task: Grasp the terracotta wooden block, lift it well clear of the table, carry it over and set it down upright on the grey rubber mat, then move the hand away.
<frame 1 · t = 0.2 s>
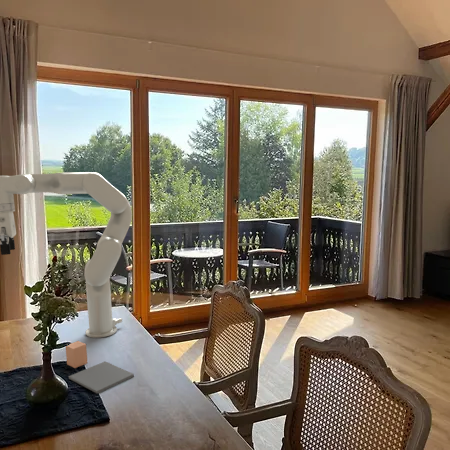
hand: (8, 252, 175), 37 cm above the table, tool pointing down, fingers open, 9 cm apart
mat: (101, 377, 148), on the table
block: (77, 363, 159), on the table
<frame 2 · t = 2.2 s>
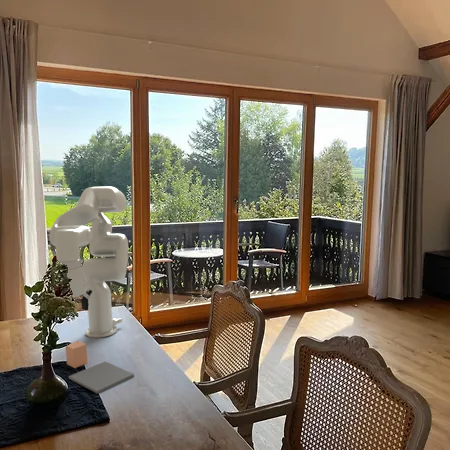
hand: (72, 313, 156), 18 cm above the table, tool pointing down, fingers open, 9 cm apart
nothing on the table moved.
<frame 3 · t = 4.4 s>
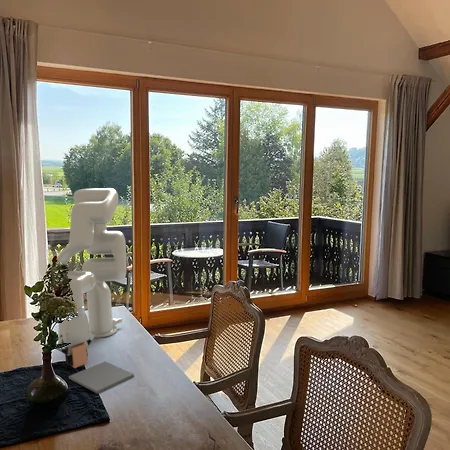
hand: (77, 361, 159), 1 cm above the table, tool pointing down, fingers closed on block, 5 cm apart
block: (77, 363, 159), on the table, touching gripper
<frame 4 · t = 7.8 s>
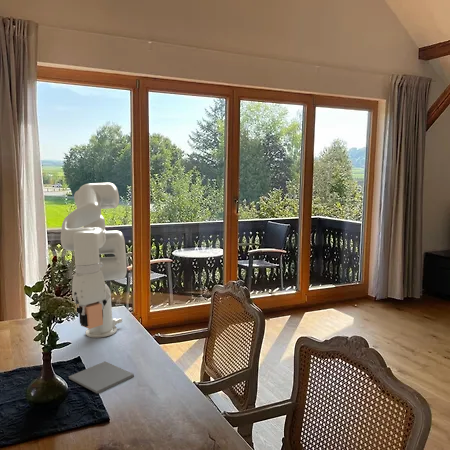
hand: (92, 322, 147), 18 cm above the table, tool pointing down, fingers closed on block, 5 cm apart
block: (92, 325, 147), point 17 cm above the table, touching gripper
when the fingers open (3 cm above the table, at t = 11.2 s): block drops 1 cm, resting on mat.
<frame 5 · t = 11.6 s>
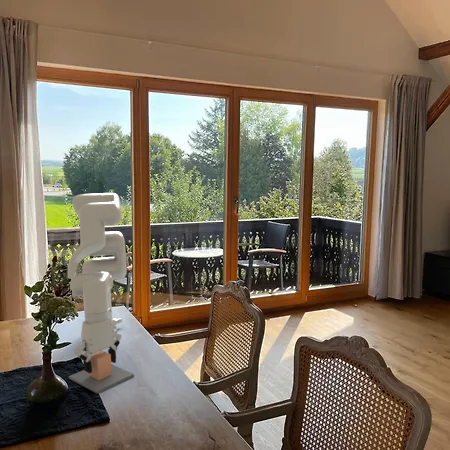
hand: (100, 366, 147), 4 cm above the table, tool pointing down, fingers open, 8 cm apart
block: (101, 375, 148), point 1 cm above the table, touching mat
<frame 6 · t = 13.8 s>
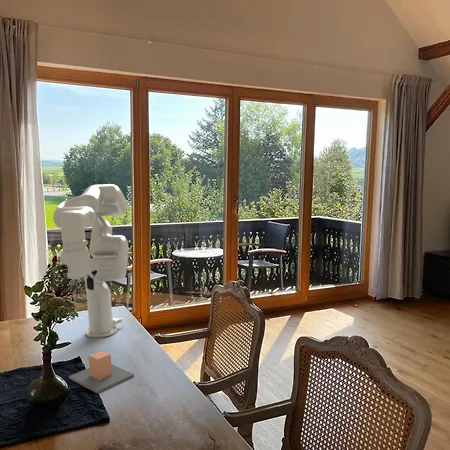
hand: (78, 293, 159), 24 cm above the table, tool pointing down, fingers open, 9 cm apart
nothing on the table moved.
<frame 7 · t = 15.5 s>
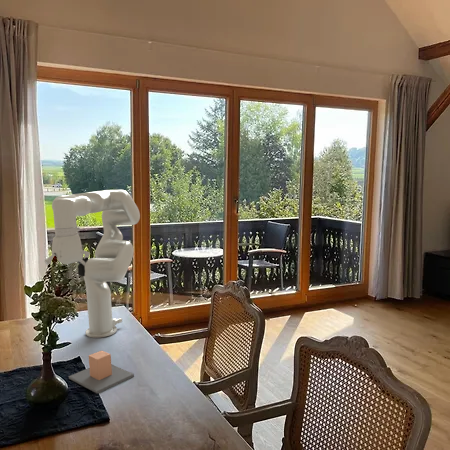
hand: (70, 278, 164), 28 cm above the table, tool pointing down, fingers open, 9 cm apart
nothing on the table moved.
at the end: block inside the target area on the mat (0.0 cm from its centre), point 0.8 cm above the mat's base; block tilted 0°; the gripper is holding nothing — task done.
